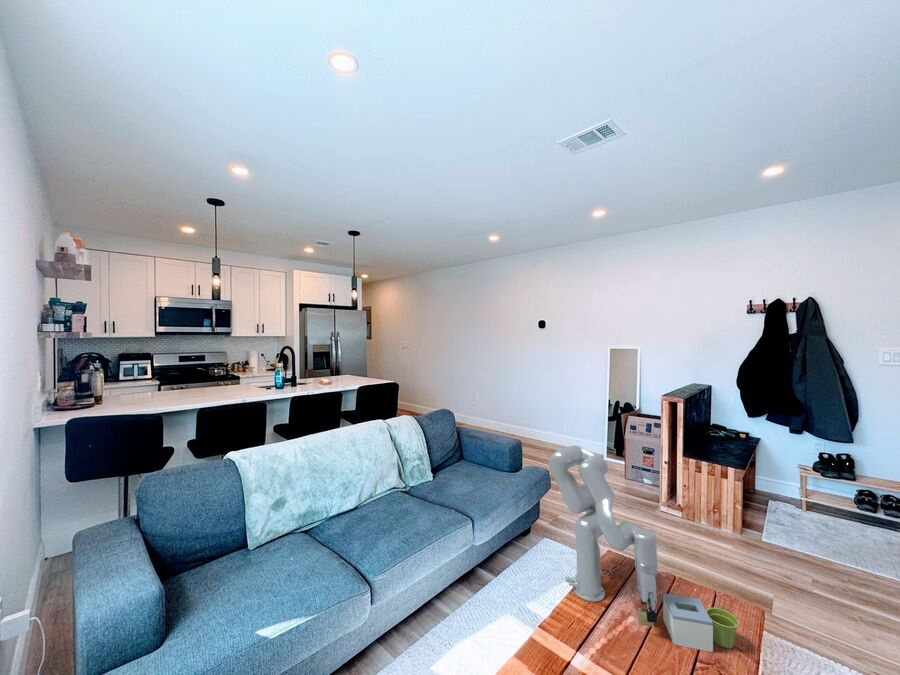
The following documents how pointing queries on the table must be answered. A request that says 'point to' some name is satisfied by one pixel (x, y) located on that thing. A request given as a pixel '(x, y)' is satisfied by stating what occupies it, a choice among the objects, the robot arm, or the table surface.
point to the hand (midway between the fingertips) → (648, 612)
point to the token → (643, 617)
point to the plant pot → (723, 627)
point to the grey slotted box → (687, 622)
